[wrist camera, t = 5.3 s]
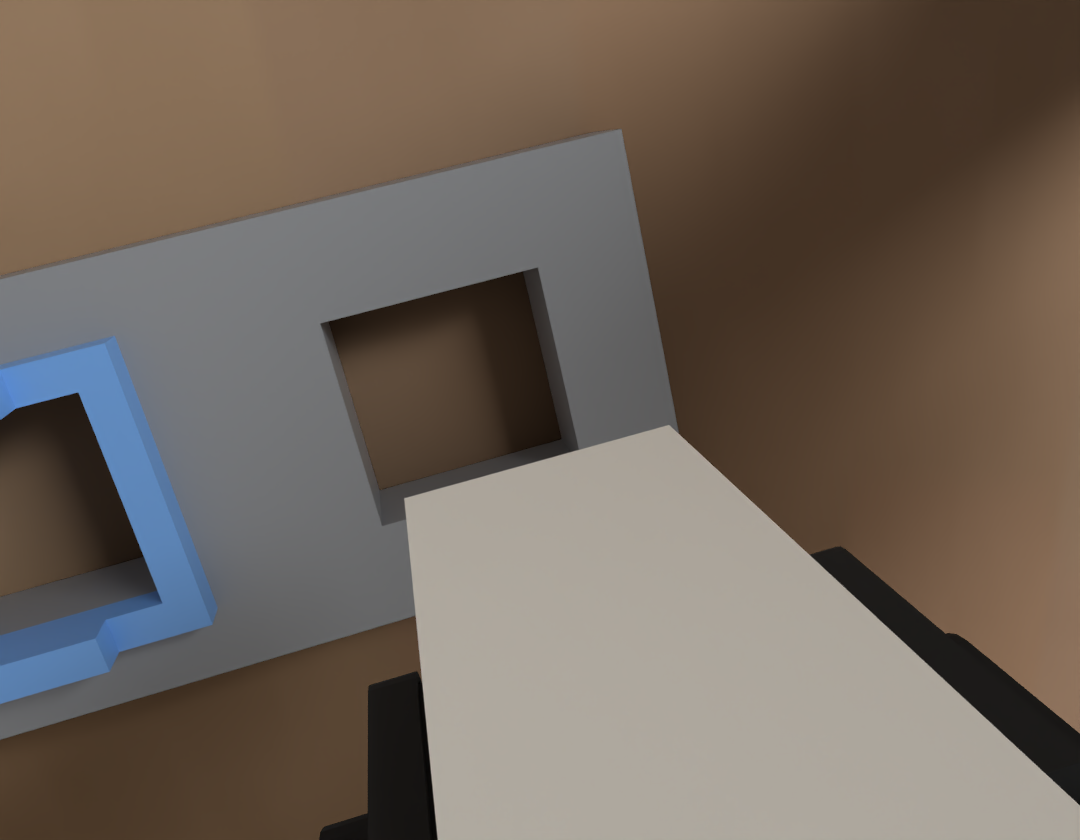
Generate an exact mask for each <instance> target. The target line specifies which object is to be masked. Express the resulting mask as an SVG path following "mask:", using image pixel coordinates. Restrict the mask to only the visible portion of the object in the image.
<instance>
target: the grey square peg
mask: <svg viewBox="0 0 1080 840" xmlns="http://www.w3.org/2000/svg"><path fill="white" fill-rule="evenodd" d="M404 501H405V512H406V522H407V532H408V542H409V552H410V562H411V573H412V583H413V593H414V603H415V613H416V624H417V634H418V644H419V654H420V664H421V674H422V685H423V695H424V705H425V715H426V725H427V736H428V746H429V756H430V766H431V776H432V786H433V797H434V807H435V817H436V827H437V837H438V840H1080V805H1079V804H1078V803H1077V802H1075V801H1074V800H1073V799H1072V798H1071V797H1070V796H1069V795H1068V794H1067V793H1066V792H1065V791H1064V790H1063V789H1061V788H1060V787H1059V786H1058V785H1057V784H1056V783H1055V782H1054V781H1053V780H1052V779H1051V778H1050V777H1049V776H1047V775H1046V774H1045V773H1044V772H1043V771H1042V770H1041V769H1040V768H1039V767H1038V766H1037V765H1036V764H1034V763H1033V762H1032V761H1031V760H1030V759H1029V758H1028V757H1027V756H1026V755H1025V754H1024V753H1023V752H1022V751H1020V750H1019V749H1018V748H1017V747H1016V746H1015V745H1014V744H1013V743H1012V742H1011V741H1010V740H1009V739H1007V738H1006V737H1005V736H1004V735H1003V734H1002V733H1001V732H1000V731H999V730H998V729H997V728H996V727H995V726H993V725H992V724H991V723H990V722H989V721H988V720H987V719H986V718H985V717H984V716H983V715H982V714H981V713H979V712H978V711H977V710H976V709H975V708H974V707H973V706H972V705H971V704H970V703H969V702H968V701H966V700H965V699H964V698H963V697H962V696H961V695H960V694H959V693H958V692H957V691H956V690H955V689H954V688H952V687H951V686H950V685H949V684H948V683H947V682H946V681H945V680H944V679H943V678H942V677H941V676H940V675H938V674H937V673H936V672H935V671H934V670H933V669H932V668H931V667H930V666H929V665H928V664H927V663H925V662H924V661H923V660H922V659H921V658H920V657H919V656H918V655H917V654H916V653H915V652H914V651H913V650H911V649H910V648H909V647H908V646H907V645H906V644H905V643H904V642H903V641H902V640H901V639H900V638H898V637H897V636H896V635H895V634H894V633H893V632H892V631H891V630H890V629H889V628H888V627H887V626H886V625H884V624H883V623H882V622H881V621H880V620H879V619H878V618H877V617H876V616H875V615H874V614H873V613H872V612H870V611H869V610H868V609H867V608H866V607H865V606H864V605H863V604H862V603H861V602H860V601H859V600H857V599H856V598H855V597H854V596H853V595H852V594H851V593H850V592H849V591H848V590H847V589H846V588H845V587H843V586H842V585H841V584H840V583H839V582H838V581H837V580H836V579H835V578H834V577H833V576H832V575H831V574H829V573H828V572H827V571H826V570H825V569H824V568H823V567H822V566H821V565H820V564H819V563H818V562H816V561H815V560H814V559H813V558H812V557H811V556H810V555H809V554H808V553H807V552H806V551H805V550H804V549H802V548H801V547H800V546H799V545H798V544H797V543H796V542H795V541H794V540H793V539H792V538H791V537H789V536H788V535H787V534H786V533H785V532H784V531H783V530H782V529H781V528H780V527H779V526H778V525H777V524H775V523H774V522H773V521H772V520H771V519H770V518H769V517H768V516H767V515H766V514H765V513H764V512H763V511H761V510H760V509H759V508H758V507H757V506H756V505H755V504H754V503H753V502H752V501H751V500H750V499H748V498H747V497H746V496H745V495H744V494H743V493H742V492H741V491H740V490H739V489H738V488H737V487H736V486H734V485H733V484H732V483H731V482H730V481H729V480H728V479H727V478H726V477H725V476H724V475H723V474H722V473H720V472H719V471H718V470H717V469H716V468H715V467H714V466H713V465H712V464H711V463H710V462H709V461H707V460H706V459H705V458H704V457H703V456H702V455H701V454H700V453H699V452H698V451H697V450H696V449H695V448H693V447H692V446H691V445H690V444H689V443H688V442H687V441H686V440H685V439H684V438H683V437H682V436H680V435H679V434H678V433H677V432H676V431H675V430H674V429H673V428H672V427H671V426H670V425H667V426H663V427H660V428H656V429H653V430H649V431H645V432H642V433H638V434H635V435H631V436H627V437H624V438H620V439H617V440H613V441H609V442H606V443H602V444H598V445H595V446H591V447H588V448H584V449H580V450H577V451H573V452H570V453H566V454H562V455H559V456H555V457H552V458H548V459H544V460H541V461H537V462H534V463H530V464H526V465H523V466H519V467H516V468H512V469H508V470H505V471H501V472H498V473H494V474H490V475H487V476H483V477H479V478H476V479H472V480H469V481H465V482H461V483H458V484H454V485H451V486H447V487H443V488H440V489H436V490H433V491H429V492H425V493H422V494H418V495H415V496H411V497H407V498H404Z"/></svg>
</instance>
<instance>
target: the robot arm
mask: <svg viewBox="0 0 1080 840" xmlns="http://www.w3.org/2000/svg"><path fill="white" fill-rule="evenodd" d="M810 556H811V557H812V558H813V559H814V560H815V561H816V562H818V563H819V564H820V565H821V566H822V567H823V568H824V569H825V570H826V571H827V572H828V573H829V574H831V575H832V576H833V577H834V578H835V579H836V580H837V581H838V582H839V583H840V584H841V585H842V586H843V587H845V588H846V589H847V590H848V591H849V592H850V593H851V594H852V595H853V596H854V597H855V598H856V599H857V600H859V601H860V602H861V603H862V604H863V605H864V606H865V607H866V608H867V609H868V610H869V611H870V612H872V613H873V614H874V615H875V616H876V617H877V618H878V619H879V620H880V621H881V622H882V623H883V624H884V625H886V626H887V627H888V628H889V629H890V630H891V631H892V632H893V633H894V634H895V635H896V636H897V637H898V638H900V639H901V640H902V641H903V642H904V643H905V644H906V645H907V646H908V647H909V648H910V649H911V650H913V651H914V652H915V653H916V654H917V655H918V656H919V657H920V658H921V659H922V660H923V661H924V662H925V663H927V664H928V665H929V666H930V667H931V668H932V669H933V670H934V671H935V672H936V673H937V674H938V675H940V676H941V677H942V678H943V679H944V680H945V681H946V682H947V683H948V684H949V685H950V686H951V687H952V688H954V689H955V690H956V691H957V692H958V693H959V694H960V695H961V696H962V697H963V698H964V699H965V700H966V701H968V702H969V703H970V704H971V705H972V706H973V707H974V708H975V709H976V710H977V711H978V712H979V713H981V714H982V715H983V716H984V717H985V718H986V719H987V720H988V721H989V722H990V723H991V724H992V725H993V726H995V727H996V728H997V729H998V730H999V731H1000V732H1001V733H1002V734H1003V735H1004V736H1005V737H1006V738H1007V739H1009V740H1010V741H1011V742H1012V743H1013V744H1014V745H1015V746H1016V747H1017V748H1018V749H1019V750H1020V751H1022V752H1023V753H1024V754H1025V755H1026V756H1027V757H1028V758H1029V759H1030V760H1031V761H1032V762H1033V763H1034V764H1036V765H1037V766H1038V767H1039V768H1040V769H1041V770H1042V771H1043V772H1044V773H1045V774H1046V775H1047V776H1049V777H1050V778H1051V779H1052V780H1053V781H1054V782H1055V783H1056V784H1057V785H1058V786H1059V787H1060V788H1061V789H1063V790H1064V791H1065V792H1066V793H1067V794H1068V795H1069V796H1070V797H1071V798H1072V799H1073V800H1074V801H1075V802H1077V803H1078V804H1079V805H1080V734H1079V733H1078V732H1077V731H1076V730H1075V729H1073V728H1072V727H1071V726H1070V725H1069V724H1067V723H1066V722H1065V721H1064V720H1063V719H1061V718H1060V717H1059V716H1058V715H1056V714H1055V713H1054V712H1053V711H1052V710H1050V709H1049V708H1048V707H1047V706H1046V705H1044V704H1043V703H1042V702H1041V701H1039V700H1038V699H1037V698H1036V697H1035V696H1033V695H1032V694H1031V693H1030V692H1029V691H1027V690H1026V689H1025V688H1024V687H1023V686H1021V685H1020V684H1019V683H1018V682H1016V681H1015V680H1014V679H1013V678H1012V677H1010V676H1009V675H1008V674H1007V673H1006V672H1004V671H1003V670H1002V669H1001V668H1000V667H998V666H997V665H996V664H995V663H993V662H992V661H991V660H990V659H989V658H987V657H986V656H985V655H984V654H983V653H981V652H980V651H979V650H978V649H977V648H975V647H974V646H973V645H972V644H970V643H969V642H968V641H967V640H965V639H963V638H962V637H960V636H959V635H957V634H950V633H947V634H945V633H944V632H943V631H942V630H940V629H939V628H938V627H937V626H936V625H934V624H933V623H932V622H931V621H930V620H929V619H927V618H926V617H925V616H924V615H923V614H921V613H920V612H919V611H918V610H917V609H916V608H914V607H913V606H912V605H911V604H910V603H908V602H907V601H906V600H905V599H904V598H902V597H901V596H900V595H899V594H898V593H897V592H895V591H894V590H893V589H892V588H891V587H889V586H888V585H887V584H886V583H885V582H884V581H882V580H881V579H880V578H879V577H878V576H876V575H875V574H874V573H873V572H872V571H871V570H869V569H868V568H867V567H866V566H865V565H863V564H862V563H861V562H860V561H859V560H858V559H856V558H855V557H854V556H853V555H852V554H850V553H849V552H848V551H847V550H846V549H844V548H842V547H834V548H831V549H827V550H824V551H821V552H817V553H814V554H810ZM319 840H438V837H437V827H436V817H435V807H434V797H433V786H432V776H431V766H430V756H429V746H428V736H427V725H426V715H425V705H424V695H423V685H422V681H421V679H420V676H419V674H418V672H417V671H416V672H413V673H409V674H406V675H403V676H399V677H396V678H392V679H389V680H386V681H382V682H379V683H376V684H372V685H370V686H369V688H368V813H367V814H364V815H361V816H358V817H354V818H351V819H348V820H345V821H342V822H338V823H335V824H332V825H329V826H326V827H324V828H323V829H322V831H321V832H320V838H319Z"/></svg>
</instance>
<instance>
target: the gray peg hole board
mask: <svg viewBox="0 0 1080 840" xmlns="http://www.w3.org/2000/svg"><path fill="white" fill-rule="evenodd" d="M522 271H523V274H524V278H525V283H526V287H527V291H528V295H529V300H530V304H531V308H532V313H533V317H534V321H535V326H536V330H537V334H538V339H539V343H540V347H541V352H542V356H543V360H544V364H545V369H546V373H547V377H548V382H549V386H550V390H551V395H552V399H553V403H554V408H555V412H556V416H557V421H558V425H559V429H560V434H561V438H562V439H561V440H557V441H553V442H550V443H546V444H543V445H539V446H536V447H532V448H529V449H525V450H521V451H518V452H514V453H511V454H507V455H504V456H500V457H497V458H493V459H489V460H486V461H482V462H479V463H475V464H472V465H468V466H465V467H461V468H457V469H454V470H450V471H447V472H443V473H440V474H436V475H432V476H429V477H425V478H422V479H418V480H415V481H411V482H408V483H404V484H400V485H397V486H393V487H390V488H386V489H383V490H379V487H378V483H377V480H376V477H375V474H374V470H373V467H372V464H371V460H370V457H369V454H368V450H367V447H366V444H365V441H364V437H363V434H362V431H361V427H360V424H359V421H358V417H357V414H356V411H355V408H354V404H353V401H352V398H351V394H350V391H349V388H348V384H347V381H346V378H345V375H344V371H343V368H342V365H341V361H340V358H339V355H338V351H337V348H336V345H335V342H334V338H333V335H332V332H331V328H330V325H329V322H328V321H332V320H336V319H340V318H343V317H347V316H351V315H355V314H359V313H363V312H367V311H371V310H375V309H378V308H382V307H386V306H390V305H394V304H398V303H402V302H406V301H409V300H413V299H417V298H421V297H425V296H429V295H433V294H437V293H440V292H444V291H448V290H452V289H456V288H460V287H464V286H468V285H471V284H475V283H479V282H483V281H487V280H491V279H495V278H499V277H503V276H506V275H510V274H514V273H518V272H522ZM74 393H79V395H80V398H81V400H82V403H83V405H84V408H85V410H86V413H87V415H88V418H89V420H90V423H91V425H92V428H93V430H94V433H95V435H96V438H97V440H98V443H99V445H100V448H101V450H102V453H103V455H104V458H105V460H106V463H107V465H108V468H109V470H110V473H111V475H112V478H113V480H114V483H115V485H116V488H117V490H118V493H119V495H120V498H121V501H122V503H123V506H124V508H125V511H126V513H127V516H128V518H129V521H130V523H131V526H132V528H133V531H134V533H135V536H136V538H137V541H138V543H139V546H140V548H141V551H142V553H143V556H144V557H141V558H137V559H134V560H130V561H127V562H123V563H119V564H116V565H112V566H109V567H105V568H102V569H98V570H95V571H91V572H87V573H84V574H80V575H77V576H73V577H70V578H66V579H63V580H59V581H55V582H52V583H48V584H45V585H41V586H38V587H34V588H31V589H27V590H23V591H20V592H16V593H13V594H9V595H6V596H2V597H0V740H1V739H4V738H8V737H11V736H14V735H18V734H21V733H24V732H28V731H31V730H34V729H38V728H41V727H44V726H48V725H51V724H54V723H58V722H61V721H65V720H68V719H71V718H75V717H78V716H81V715H85V714H88V713H91V712H95V711H98V710H101V709H105V708H108V707H111V706H115V705H118V704H121V703H125V702H128V701H132V700H135V699H138V698H142V697H145V696H148V695H152V694H155V693H158V692H162V691H165V690H168V689H172V688H175V687H178V686H182V685H185V684H188V683H192V682H195V681H199V680H202V679H205V678H209V677H212V676H215V675H219V674H222V673H225V672H229V671H232V670H235V669H239V668H242V667H245V666H249V665H252V664H255V663H259V662H262V661H266V660H269V659H272V658H276V657H279V656H282V655H286V654H289V653H292V652H296V651H299V650H302V649H306V648H309V647H312V646H316V645H319V644H322V643H326V642H329V641H333V640H336V639H339V638H343V637H346V636H349V635H353V634H356V633H359V632H363V631H366V630H369V629H373V628H376V627H379V626H383V625H386V624H389V623H393V622H396V621H400V620H403V619H406V618H410V617H413V616H416V613H415V603H414V593H413V583H412V573H411V562H410V552H409V542H408V532H407V522H406V512H405V501H404V498H407V497H411V496H415V495H418V494H422V493H425V492H429V491H433V490H436V489H440V488H443V487H447V486H451V485H454V484H458V483H461V482H465V481H469V480H472V479H476V478H479V477H483V476H487V475H490V474H494V473H498V472H501V471H505V470H508V469H512V468H516V467H519V466H523V465H526V464H530V463H534V462H537V461H541V460H544V459H548V458H552V457H555V456H559V455H562V454H566V453H570V452H573V451H577V450H580V449H584V448H588V447H591V446H595V445H598V444H602V443H606V442H609V441H613V440H617V439H620V438H624V437H627V436H631V435H635V434H638V433H642V432H645V431H649V430H653V429H656V428H660V427H663V426H667V425H670V426H671V427H672V428H673V429H674V430H675V431H676V432H677V433H678V434H679V431H678V426H677V421H676V415H675V410H674V405H673V400H672V394H671V389H670V384H669V378H668V373H667V368H666V363H665V357H664V352H663V347H662V341H661V336H660V331H659V326H658V320H657V315H656V310H655V304H654V299H653V294H652V289H651V283H650V278H649V273H648V267H647V262H646V257H645V252H644V246H643V241H642V236H641V230H640V225H639V220H638V214H637V209H636V204H635V199H634V193H633V188H632V183H631V177H630V172H629V167H628V162H627V156H626V151H625V146H624V140H623V135H622V130H621V129H615V130H606V131H598V132H591V133H587V134H583V135H579V136H575V137H571V138H567V139H562V140H558V141H554V142H550V143H546V144H542V145H538V146H534V147H529V148H525V149H521V150H517V151H513V152H509V153H505V154H500V155H496V156H492V157H488V158H484V159H480V160H476V161H472V162H467V163H463V164H459V165H455V166H451V167H447V168H443V169H438V170H434V171H430V172H426V173H422V174H418V175H414V176H409V177H405V178H401V179H397V180H393V181H389V182H385V183H381V184H376V185H372V186H368V187H364V188H360V189H356V190H352V191H347V192H343V193H339V194H335V195H331V196H327V197H323V198H319V199H314V200H310V201H306V202H302V203H298V204H294V205H290V206H285V207H281V208H277V209H273V210H269V211H265V212H261V213H257V214H252V215H248V216H244V217H240V218H236V219H232V220H228V221H223V222H219V223H215V224H211V225H207V226H203V227H199V228H195V229H190V230H186V231H182V232H178V233H174V234H170V235H166V236H161V237H157V238H153V239H149V240H145V241H141V242H137V243H132V244H128V245H124V246H120V247H116V248H112V249H108V250H104V251H99V252H95V253H91V254H87V255H83V256H79V257H75V258H70V259H66V260H62V261H58V262H54V263H50V264H46V265H42V266H37V267H33V268H29V269H25V270H21V271H17V272H13V273H8V274H4V275H0V420H1V419H2V418H4V417H5V416H6V415H8V414H9V413H10V412H12V411H13V410H15V409H16V408H20V407H24V406H27V405H31V404H35V403H39V402H43V401H47V400H51V399H54V398H58V397H62V396H66V395H70V394H74Z"/></svg>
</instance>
